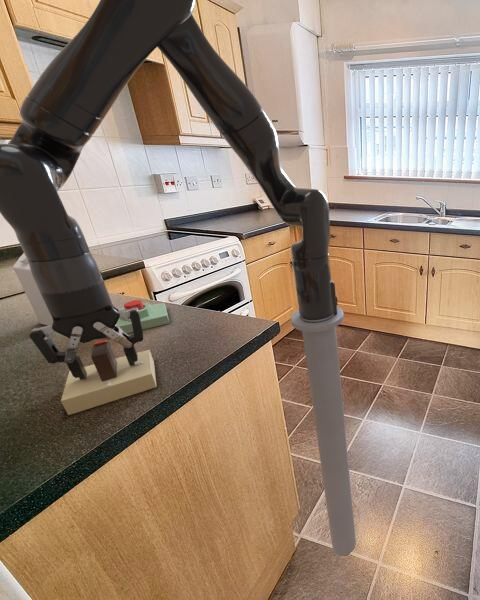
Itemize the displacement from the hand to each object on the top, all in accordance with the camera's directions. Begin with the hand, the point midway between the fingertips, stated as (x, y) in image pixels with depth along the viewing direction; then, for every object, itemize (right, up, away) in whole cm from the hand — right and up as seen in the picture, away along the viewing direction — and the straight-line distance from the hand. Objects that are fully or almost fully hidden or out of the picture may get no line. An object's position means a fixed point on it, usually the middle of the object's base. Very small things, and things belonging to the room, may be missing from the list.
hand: (109, 369), depth 60 cm
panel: (0, -3, +1) cm, 4 cm away
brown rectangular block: (0, 0, 0) cm, 0 cm away
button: (-13, +10, +23) cm, 28 cm away
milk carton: (-33, +7, +26) cm, 43 cm away
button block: (-13, +7, +24) cm, 29 cm away
